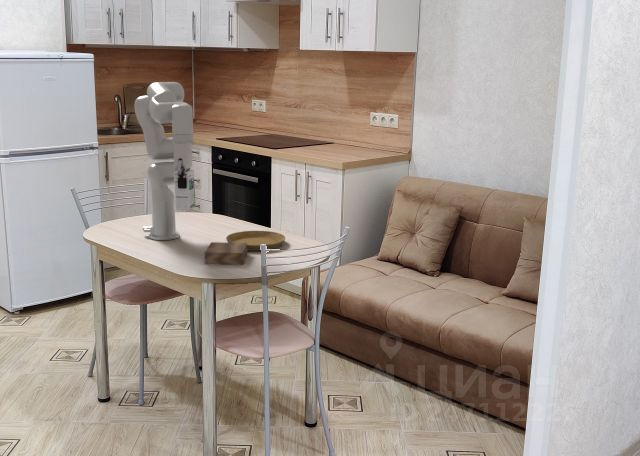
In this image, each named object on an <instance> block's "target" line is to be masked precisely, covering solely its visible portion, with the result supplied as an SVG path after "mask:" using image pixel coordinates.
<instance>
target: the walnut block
mask: <svg viewBox="0 0 640 456" xmlns="http://www.w3.org/2000/svg"><path fill="white" fill-rule="evenodd" d="M247 257H248V250H247V243H228V242H210V244H209V245H208V247H207V248H206V249H205V252H204V264H205V265H210V264H219V265H221V266H222V265H223V266H224V265H225V266H228V265H229V266H243V265H244V263H245V262H246V258H247ZM219 265H218V266H219Z"/></svg>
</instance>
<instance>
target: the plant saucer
mask: <svg viewBox="0 0 640 456" xmlns="http://www.w3.org/2000/svg"><path fill="white" fill-rule="evenodd" d="M225 240H226V241H227V243H247V252H248V251H250V252H251V251H253V252H260V245H261V244H266V246H267V249H270V250H274V249H276V247H277V248H278V247H280V246H281V245H283V244H284V242H285V241H286V235H284V234H282V233H280V232H276V231H268V230H246V231H245V230H243V231H237V232H233V233H230V234H228V235H227V236H226V237H225Z"/></svg>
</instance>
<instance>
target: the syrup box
mask: <svg viewBox="0 0 640 456" xmlns="http://www.w3.org/2000/svg"><path fill="white" fill-rule="evenodd" d="M177 173H178V172H177V171H176V172H174V200H175V211H176V210H177V211H191V210H192V209H194V208H196V193H195V192H196V191H195V189H196V188H195V174H194V170H193V169H190V170H186V177H185V178H186V179H187V188H186V189H182V188H178V177H177V175H178V174H177ZM183 174H184V171H183Z"/></svg>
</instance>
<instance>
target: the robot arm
mask: <svg viewBox="0 0 640 456" xmlns="http://www.w3.org/2000/svg"><path fill="white" fill-rule="evenodd" d="M184 89H185V88H184V87H183V86H182V84H181V83H179V82H176V81H166V82H165V81H159V82H158V81H157V82H153V83H151V84H150V85H149V86H148V87H147V89H146V95H142V96H139V97H137V98H136V99H135V101H134V112H135V116H136V119H137V121H138V124H139V125H140V127H141V129H142V133H143V137H144V142H145V148H146V152H147V156H148V158H149V160H151V161H154V163H152V164H150V165H149V166H148V168H147V179H148V181H149V182H148V183H149V188H150V201H151V203H150V206H151V226H143V227H142V231H143V232H144V233H149V234H148V238H149V239H150V240H155V241H169V240H170V241H171V240H175V239H179V237H180V232H179V231H177V230H176V229H177V228H176V224H177V223H176V203H175V193H174V192H173V191H172V190H171V188H169V187H168V186H172V185H174V172H176V171H177V172H178V173H177V174H178V175H177V177H178V188H182V189H186V188H187V179H186V178H185V177H186V170H192V169H191V168H192V166H193V153H192V152H193V150H192V144H193V143H194V122H193V121H194V119H193V118H194V117H193V116H194V115H193V114H194V113H193V112H194V111H193V107H192V105H191V104H189V103H187V102H184V99H185V90H184ZM169 123H170V124H171V127H172V128H171V132H172V133H171V134H172V135H171V136H170V137H167V136H166V133H165V128H164V126H163V125H162V124H169ZM183 171H184V174H183ZM174 186H175V185H174Z"/></svg>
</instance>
